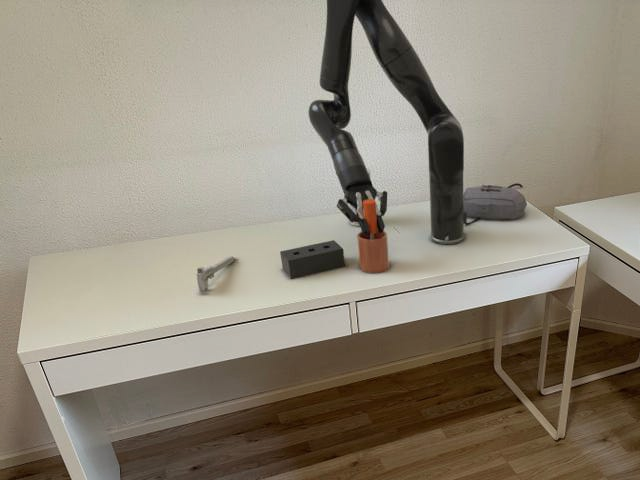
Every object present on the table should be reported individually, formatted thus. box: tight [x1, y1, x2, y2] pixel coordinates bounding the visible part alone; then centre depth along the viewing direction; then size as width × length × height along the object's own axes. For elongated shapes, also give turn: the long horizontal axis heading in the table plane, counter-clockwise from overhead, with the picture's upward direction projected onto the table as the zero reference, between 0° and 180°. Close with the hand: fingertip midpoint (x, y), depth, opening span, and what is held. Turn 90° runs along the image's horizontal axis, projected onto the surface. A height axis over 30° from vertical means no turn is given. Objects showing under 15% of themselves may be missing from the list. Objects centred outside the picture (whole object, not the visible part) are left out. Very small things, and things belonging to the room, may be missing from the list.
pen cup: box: [356, 230, 390, 274], centre depth 173 cm, size 7×7×9 cm
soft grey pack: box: [463, 184, 528, 221], centre depth 207 cm, size 15×8×20 cm
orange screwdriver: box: [363, 199, 378, 240], centre depth 170 cm, size 3×3×15 cm
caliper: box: [196, 255, 236, 294], centre depth 169 cm, size 20×1×6 cm, turn 176°
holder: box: [279, 239, 346, 280], centre depth 174 cm, size 6×14×5 cm, turn 122°
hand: (375, 232), depth 169 cm, fingers closed on orange screwdriver, 3 cm apart
